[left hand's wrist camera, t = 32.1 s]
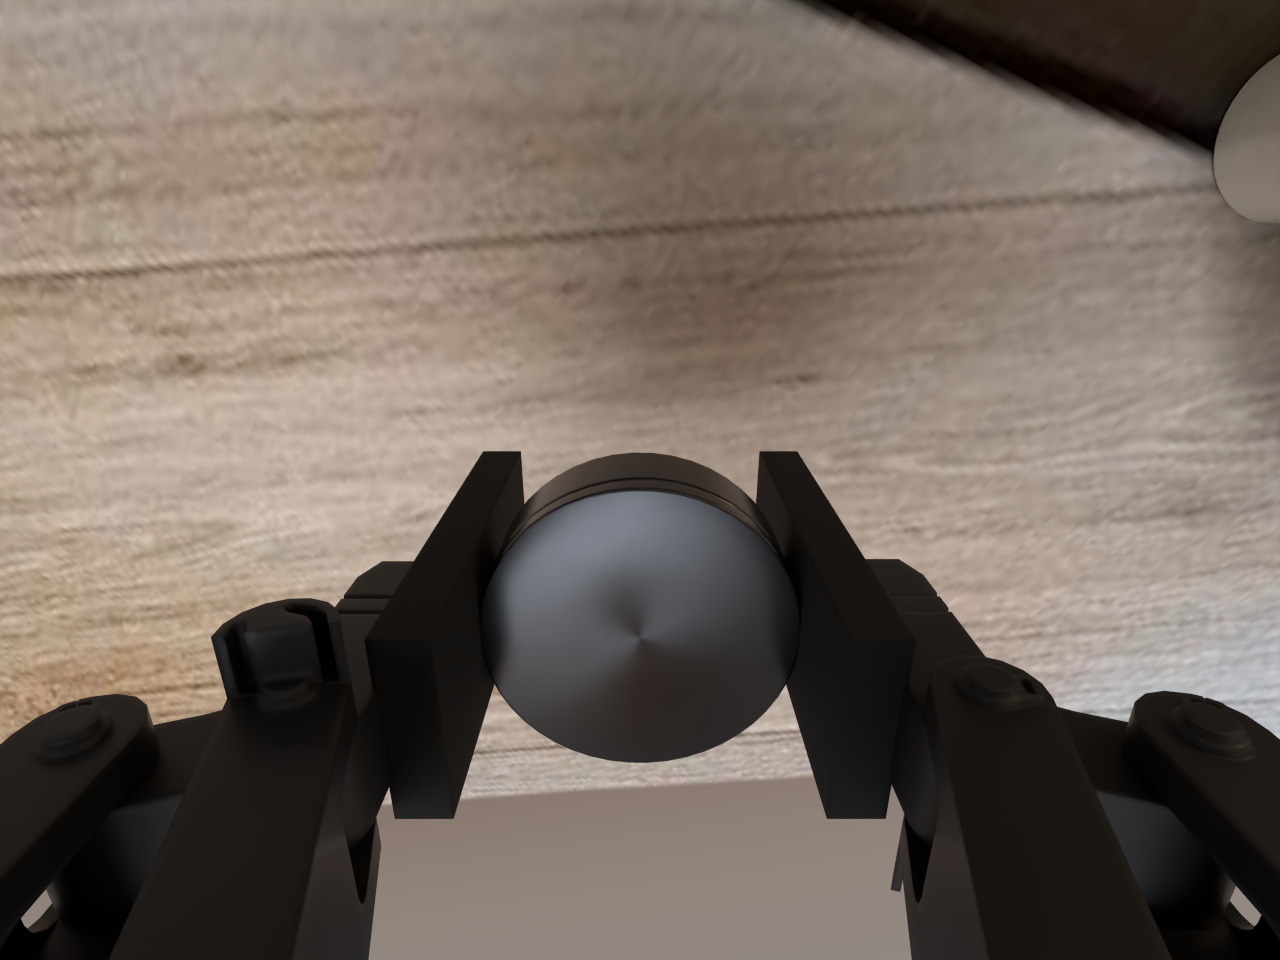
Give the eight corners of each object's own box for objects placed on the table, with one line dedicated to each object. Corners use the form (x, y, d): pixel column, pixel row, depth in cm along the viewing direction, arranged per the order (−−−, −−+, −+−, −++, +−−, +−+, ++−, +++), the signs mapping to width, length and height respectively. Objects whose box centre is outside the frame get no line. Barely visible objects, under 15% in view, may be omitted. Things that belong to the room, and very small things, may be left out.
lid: (515, 706, 13) (499, 769, 11) (479, 458, 11) (455, 496, 10) (779, 694, 13) (797, 758, 11) (786, 443, 11) (808, 480, 10)
